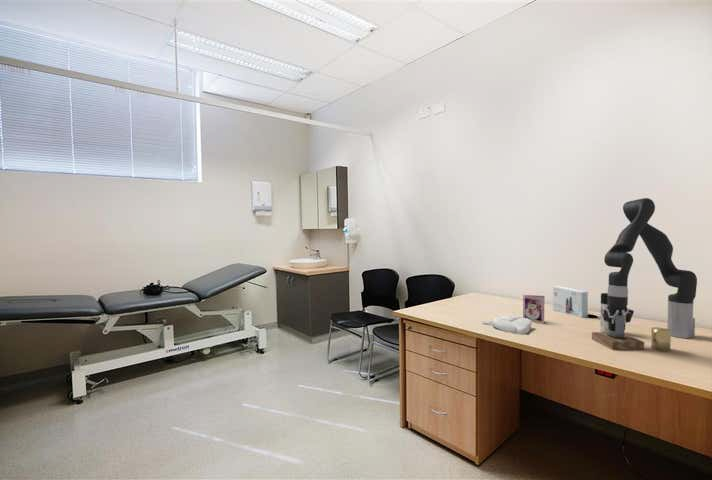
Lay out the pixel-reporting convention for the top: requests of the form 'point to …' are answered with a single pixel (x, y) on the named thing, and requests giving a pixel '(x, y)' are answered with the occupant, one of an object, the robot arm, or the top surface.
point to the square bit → (618, 327)
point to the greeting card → (533, 308)
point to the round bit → (661, 339)
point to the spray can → (603, 306)
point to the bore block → (618, 341)
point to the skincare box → (570, 301)
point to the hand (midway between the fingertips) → (616, 330)
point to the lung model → (511, 324)
